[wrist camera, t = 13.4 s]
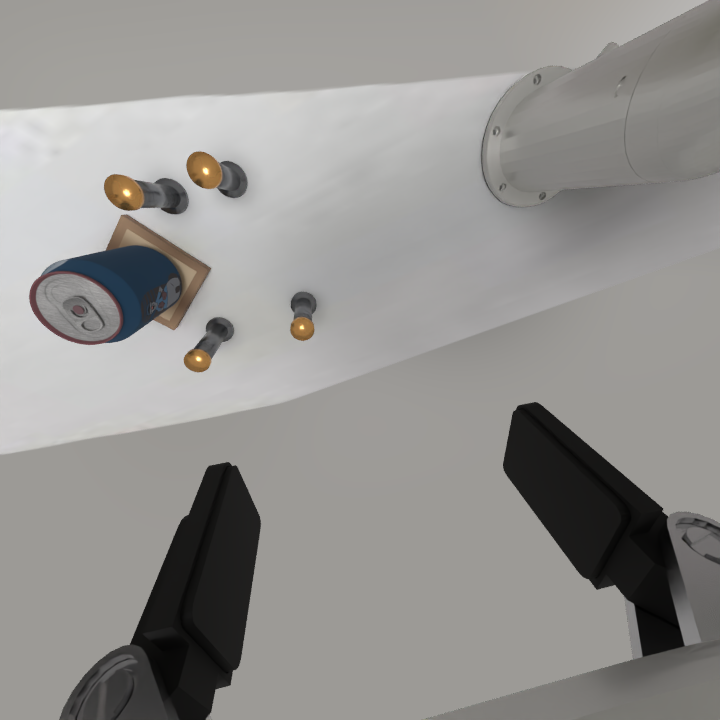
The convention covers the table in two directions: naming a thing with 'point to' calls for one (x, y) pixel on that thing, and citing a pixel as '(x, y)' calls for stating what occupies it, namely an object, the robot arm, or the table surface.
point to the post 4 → (302, 316)
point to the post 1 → (146, 194)
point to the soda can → (105, 294)
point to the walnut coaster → (186, 265)
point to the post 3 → (208, 344)
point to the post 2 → (216, 174)
